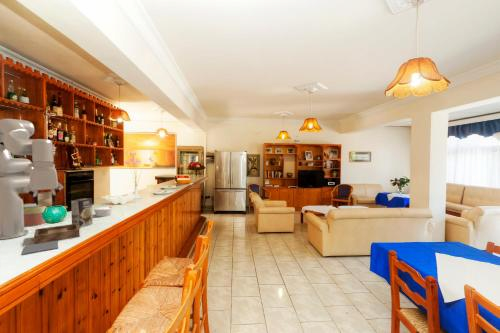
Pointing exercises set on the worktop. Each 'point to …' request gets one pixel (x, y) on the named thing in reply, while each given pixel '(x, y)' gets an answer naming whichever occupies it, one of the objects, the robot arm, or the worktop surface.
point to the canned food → (33, 215)
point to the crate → (56, 233)
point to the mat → (40, 247)
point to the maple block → (44, 199)
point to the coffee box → (82, 212)
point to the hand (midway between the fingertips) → (45, 203)
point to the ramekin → (103, 211)
